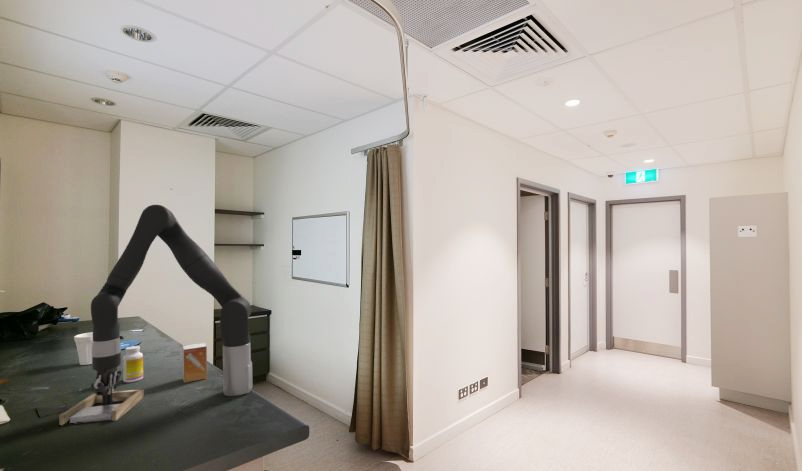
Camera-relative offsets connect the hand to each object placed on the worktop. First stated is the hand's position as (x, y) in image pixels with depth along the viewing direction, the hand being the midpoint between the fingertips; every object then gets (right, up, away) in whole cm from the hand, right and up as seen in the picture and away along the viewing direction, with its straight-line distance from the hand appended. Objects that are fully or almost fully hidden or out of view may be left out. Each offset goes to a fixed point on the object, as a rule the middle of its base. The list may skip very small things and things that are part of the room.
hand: (107, 405), depth 127 cm
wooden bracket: (0, -1, -2) cm, 2 cm away
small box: (+15, -1, +26) cm, 30 cm away
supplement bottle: (-9, -2, +26) cm, 27 cm away
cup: (-44, -2, +47) cm, 65 cm away
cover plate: (+1, -2, -6) cm, 6 cm away
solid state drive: (-18, -2, 0) cm, 18 cm away
